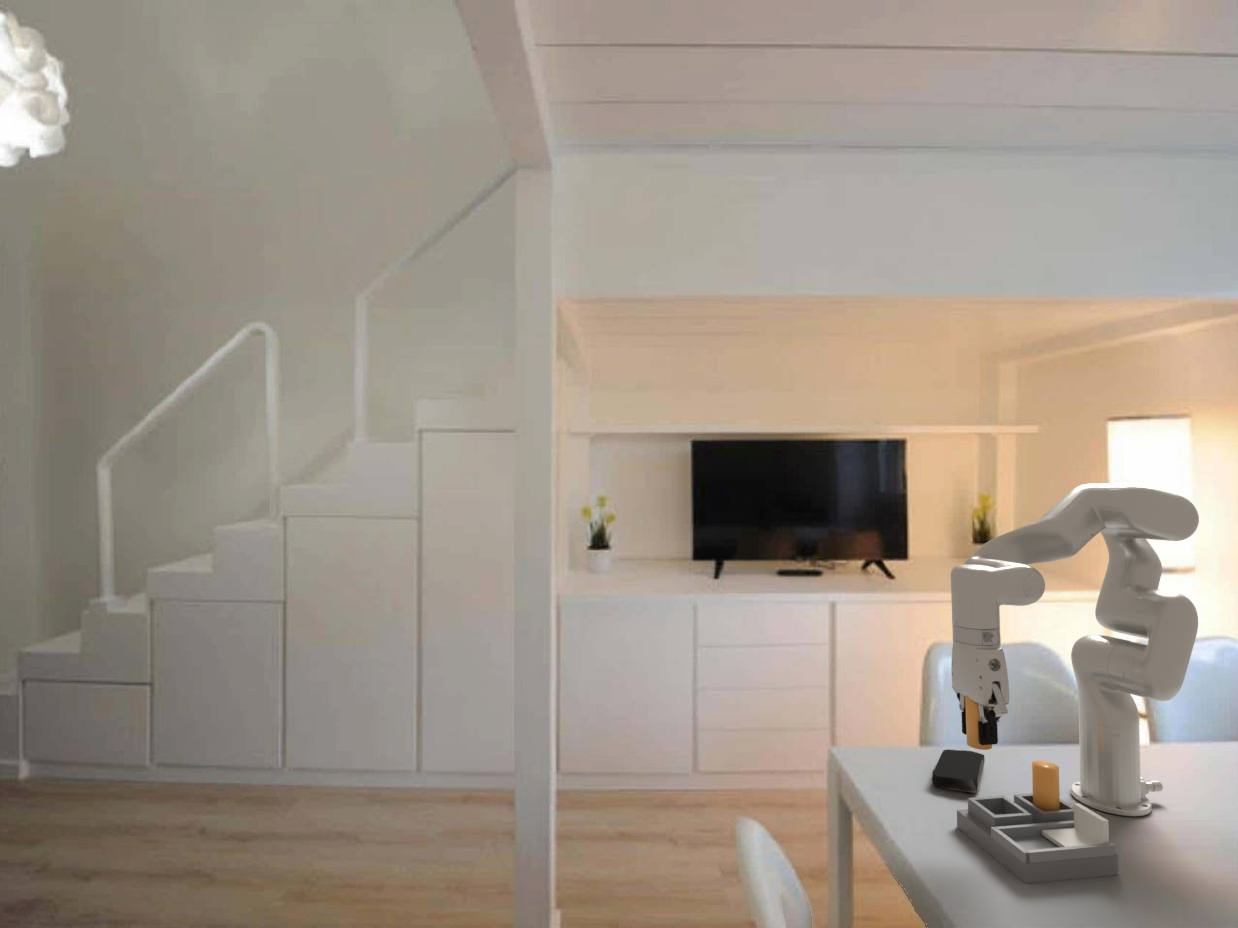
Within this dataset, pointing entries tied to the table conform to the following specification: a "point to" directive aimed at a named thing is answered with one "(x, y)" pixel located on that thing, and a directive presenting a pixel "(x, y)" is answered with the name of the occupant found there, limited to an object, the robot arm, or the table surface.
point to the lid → (1081, 829)
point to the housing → (1034, 832)
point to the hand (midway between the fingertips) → (979, 737)
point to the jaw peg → (974, 724)
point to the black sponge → (959, 770)
